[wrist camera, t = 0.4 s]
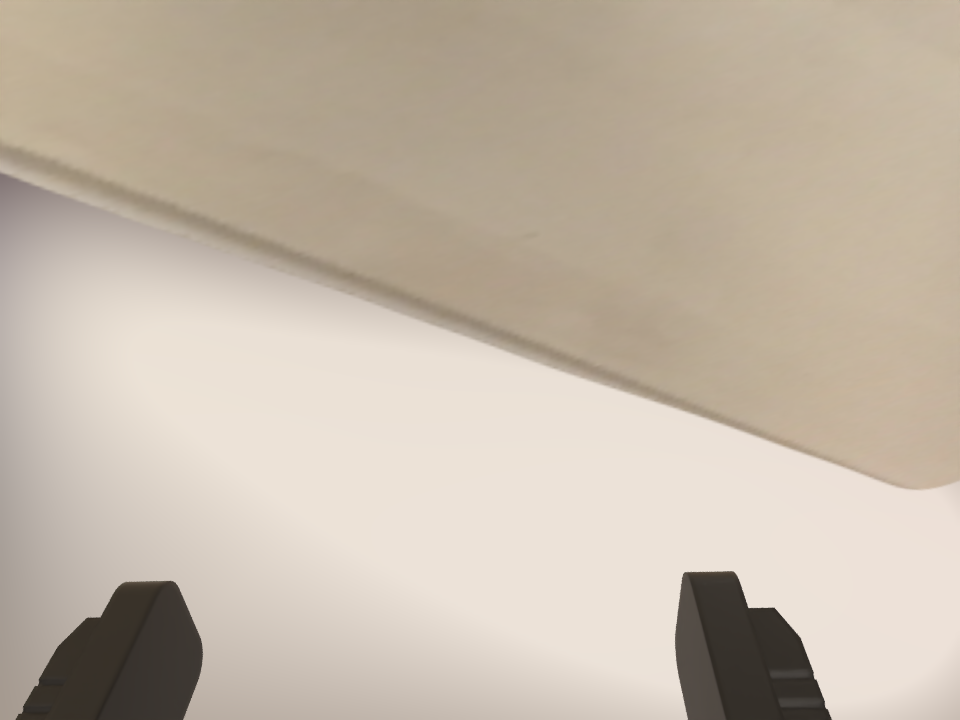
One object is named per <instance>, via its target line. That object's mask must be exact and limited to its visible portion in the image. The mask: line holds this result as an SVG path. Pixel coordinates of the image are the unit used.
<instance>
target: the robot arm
mask: <svg viewBox="0 0 960 720" xmlns="http://www.w3.org/2000/svg"><path fill="white" fill-rule="evenodd" d="M675 649H676V661H677V668H678V674H679V679H680V684H681V688H682V693H683V697H684V703H685V707H686V712H687V716H688V720H832V719H831V717H830V714H829V712H828V709H826V708H825V701H824V698H823V696H822V693H821V691H820V688H819V685H818V683H817V680H815V679H814V675H813V673H814V672H813V670H812V667H811V665H810V662H809V659H808V657H807V654H806V652H805V649H804V646H803V643H802V641H801V638H800V637H799V636H798V634H796V632H795V631H794V630H793V629H792V628H791V627H790V625H789V624H788V623H787V622H786V621H785V619H784V618H783V617H782V616H781V615H780V614H779V613H778V611H777V610H776V609H775V608H748V606H747V603H746V599H745V596H744V593H743V590H742V587H741V584H740V582H739V579H738V577H737V575H736V574H735V573H734V572H732V571H727V572H726V571H725V572H685V573H684V574H683V577H682V584H681V592H680V600H679V609H678V616H677V624H676V634H675ZM202 650H203V649H202V643H201V638H200V636H199V633H198V631H197V629H196V627H195V624H194V622H193V620H192V617H191V615H190V613H189V610H188V608H187V606H186V603H185V601H184V599H183V596H182V595H181V592H180V589H179V587H178V586H177V584H176V583H175V582H173V581H149V582H148V581H146V582H125V583H123V584H121V585H120V586H119V587H118V588H117V589H116V590H115V592H114V594H113V595H112V597H111V599H110V602H109V603H108V605H107V606H106V608H105V610H104V612H103V614H102V616H101V617H100V618H86V619H85V621H83V622H82V623H81V624H80V625H79V626H78V627H77V628H76V629H75V630H74V631H73V632H72V633H71V634H70V635H69V636H68V637H67V638H66V639H65V640H64V641H63V642H62V643H61V644H60V645H59V646H58V648H57V649H56V651H55V653H54V654H53V656H52V658H51V659H50V661H49V663H48V665H47V666H46V668H45V670H44V671H43V673H42V675H41V677H40V678H39V685H38V686H35V687H34V689H33V691H32V692H31V694H30V696H29V698H28V699H27V701H26V703H25V704H24V706H23V712H22V714H19V715H18V716H17V718H16V720H183V718H184V716H185V713H186V711H187V708H188V705H189V703H190V700H191V698H192V695H193V692H194V690H195V687H196V684H197V682H198V679H199V676H200V672H201V667H202V657H203V654H202V653H203V651H202Z"/></svg>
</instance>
